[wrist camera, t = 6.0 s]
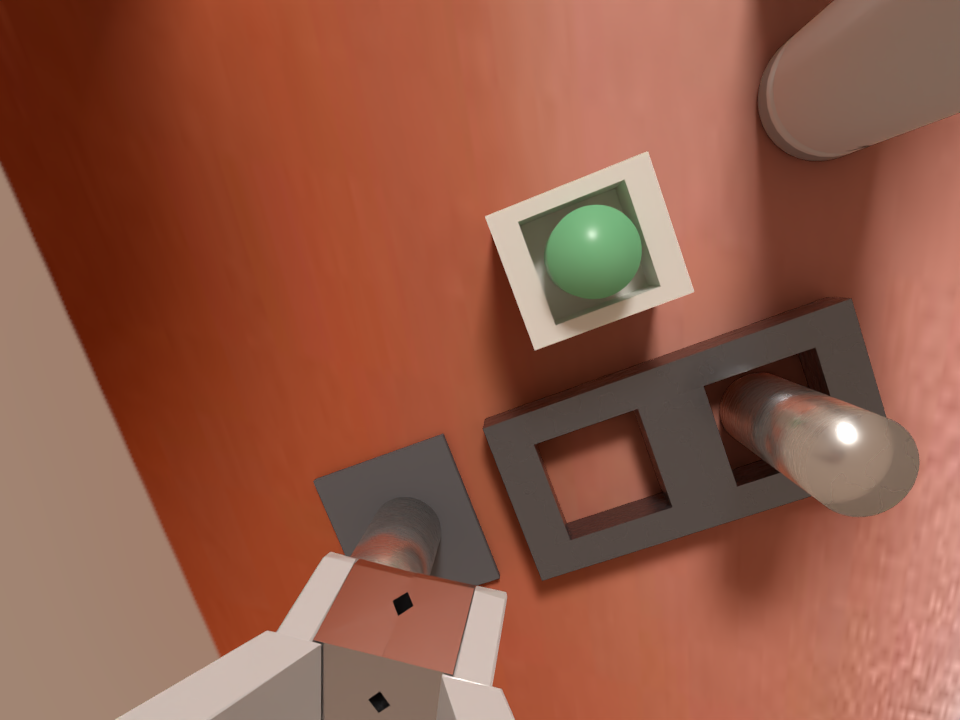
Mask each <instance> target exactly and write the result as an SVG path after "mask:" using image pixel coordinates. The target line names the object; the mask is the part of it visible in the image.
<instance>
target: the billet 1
mask: <svg viewBox="0 0 960 720" xmlns="http://www.w3.org/2000/svg"><path fill="white" fill-rule="evenodd" d="M440 538H441V524H440V521H439V518H438V516H437V515H436V513H435V511H434V510H433V509H432V508H431V507H430V506H429V505H427V504H426V503H425V502H423V501H421V500H419V499H416V498H412V497H398V498H394V499H392V500H389V501H388V502H386V503H385V504H383V505H382V506H381V507H380V508H379V510H378V511H377V513H376V514H375V516H374V518H373V519H372V521H371V523H370V524H369V526H368V528H367V529H366V531H365V533H364V534H363V536H362V538H361V539H360V541H359V543H358V545H357V546H356V548H355V550H354V551H353V553H352V555H351V556H350V557H353V558H357V559H363V560H367V561H371V562H375V563H379V564H383V565H386V566H390V567H394V568H398V569H402V570H406V571H410V572H414V573H421V574H426V575H430V573H431V570H432V566H433V563H434V559H435V556H436V553H437V549H438V546H439V542H440Z"/></svg>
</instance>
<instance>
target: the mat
mask: <svg viewBox="0 0 960 720" xmlns="http://www.w3.org/2000/svg"><path fill="white" fill-rule="evenodd" d="M313 482H314V484H315V487H316V489H317V491H318V493H319V496H320V498H321V500H322V503H323V505H324V507H325V510H326V512H327V514H328V516H329V519H330V521H331V523H332V526H333V528H334V530H335V532H336V535H337V537H338V539H339V542H340V544H341V546H342V549H343V551H344V553H345V555H346V556H349V557H350V556H351V555H352V553H353V551H354V550H355V548H356V546H357V545H358V543H359V541H360V539H361V538H362V536H363V534H364V533H365V531H366V529H367V528H368V526H369V524H370V523H371V521H372V519H373V518H374V516H375V514H376V513H377V511H378V510H379V508H380V507H381V506H382V505H383V504H385V503H386V502H388V501H389V500H392V499H394V498H398V497H412V498H416V499H419V500H421V501H423V502H425V503H426V504H427V505H429V506H430V507H431V508H432V509H433V510H434V511H435V513H436V515H437V516H438V518H439V521H440V524H441V538H440V542H439V546H438V549H437V553H436V556H435V559H434V563H433V566H432V570H431V573H430V576H435V577H439V578H444V579H449V580H453V581H458V582H462V583H467V584H472V585H476V586H477V585H480V584H483V583H487V582H490V581H493V580H496V579H499V578H500V574H499V571H498V569H497V566H496V564H495V561H494V559H493V556H492V554H491V551H490V549H489V546H488V544H487V541H486V539H485V536H484V534H483V531H482V529H481V526H480V524H479V521H478V519H477V516H476V514H475V511H474V509H473V506H472V504H471V501H470V499H469V496H468V494H467V491H466V489H465V486H464V484H463V481H462V479H461V476H460V474H459V471H458V469H457V466H456V464H455V461H454V459H453V456H452V454H451V451H450V449H449V446H448V444H447V441H446V439H445V436H444V434H441V435H438V436H435V437H433V438H430V439H427V440H424V441H421V442H418V443H416V444H413V445H410V446H407V447H404V448H402V449H399V450H396V451H393V452H390V453H388V454H385V455H382V456H379V457H376V458H373V459H371V460H368V461H365V462H362V463H359V464H357V465H354V466H351V467H348V468H345V469H342V470H340V471H337V472H334V473H331V474H328V475H326V476H323V477H320V478H317V479H315V480H314V481H313Z"/></svg>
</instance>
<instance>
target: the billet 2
mask: <svg viewBox="0 0 960 720" xmlns="http://www.w3.org/2000/svg"><path fill="white" fill-rule="evenodd" d="M720 418H721V422H722V424H723V426H724V428H725V430H726V431H727V432H728V433H729V434H730V435H731V436H732V437H733V438H734V439H736V440H737V441H738V442H740V443H741V444H743V445H744V446H745V447H747V448H748V449H749V450H751V451H752V452H753V453H755V454H756V455H757V456H759V457H760V458H761V459H763V460H764V461H765V462H767V463H768V464H769V465H771V466H772V467H774V468H775V469H776V470H778V471H779V472H780V473H782V474H783V475H784V476H786V477H787V478H788V479H790V480H791V481H792V482H794V483H795V484H796V485H798V486H799V487H800V488H802V489H803V490H805V491H806V492H807V493H809V494H810V495H811V496H813V497H814V498H815V499H817V500H818V501H819V502H821V503H822V504H823V505H825V506H826V507H828V508H829V509H831V510H833V511H834V512H837V513H839V514H842V515H846V516H852V517H866V516H872V515H876V514H879V513H882V512H885V511H887V510H889V509H890V508H892V507H894V506H895V505H897V504H898V503H899V502H900V501H901V500H903V498H904V497H905V496H906V495H907V494H908V493H909V491H910V490H911V488H912V487H913V485H914V483H915V480H916V478H917V475H918V470H919V454H918V449H917V446H916V444H915V442H914V440H913V438H912V436H911V435H910V434H909V432H908V431H907V430H906V429H905V428H904V427H902V426H901V425H900V424H898V423H897V422H895V421H893V420H891V419H889V418H886V417H883V416H881V415H878V414H875V413H873V412H870V411H868V410H865V409H862V408H860V407H857V406H854V405H852V404H849V403H847V402H844V401H841V400H839V399H836V398H833V397H831V396H828V395H826V394H823V393H820V392H818V391H815V390H812V389H810V388H807V387H805V386H802V385H799V384H797V383H794V382H791V381H789V380H786V379H784V378H781V377H778V376H776V375H773V374H770V373H763V372H756V373H751V374H747V375H744V376H742V377H740V378H739V379H737V380H736V381H734V382H733V383H732V384H731V385H730V386H729V387H728V388H727V390H726V391H725V393H724V395H723V397H722V399H721V403H720Z"/></svg>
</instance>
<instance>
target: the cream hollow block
mask: <svg viewBox="0 0 960 720" xmlns="http://www.w3.org/2000/svg"><path fill="white" fill-rule="evenodd" d="M588 205H605V206H609V207H612V208H615V209H617V210H619V211H621V212H622V213H623V214H625V215H626V216H627V217H628V218H629V219H630V220H631V221H632V223H633V224H634V225H635V227H636V229H637V231H638V233H639V236H640V240H641V245H642V255H641V261H640V265H639V268H638V270H637V272H636V274H635V276H634V277H633V279H632V280H631V281H630V283H629V284H628V285H627V286H626V287H625V288H623V289H622V290H621V291H619V292H617V293H616V294H614V295H611V296H609V297H606V298H601V299H585V298H581V297H577V296H574V295H571V294H569V293H566V292H565V291H563V290H561V289H560V288H559V287H557V286H556V285H555V284H554V282H553V281H552V280H551V278H550V277H549V275H548V273H547V270H546V267H545V262H544V250H545V245H546V242H547V240H548V238H549V236H550V234H551V232H552V231H553V230H554V228H555V227H556V226H557V224H558V223H559V222H560V221H561V220H562V219H563V218H564V217H565V216H566V215H567V214H569V213H570V212H572V211H574V210H576V209H578V208H580V207H584V206H588ZM485 218H486V221H487V223H488V226H489V229H490V231H491V234H492V237H493V239H494V242H495V245H496V247H497V250H498V253H499V256H500V258H501V261H502V264H503V266H504V269H505V272H506V274H507V277H508V280H509V283H510V285H511V288H512V291H513V293H514V296H515V299H516V301H517V304H518V307H519V309H520V312H521V315H522V318H523V320H524V323H525V326H526V328H527V331H528V334H529V336H530V339H531V342H532V344H533V347H534V350H538V349H540V348H543V347H546V346H548V345H551V344H554V343H557V342H559V341H562V340H565V339H568V338H570V337H573V336H576V335H578V334H581V333H584V332H587V331H589V330H592V329H595V328H598V327H600V326H603V325H606V324H608V323H611V322H614V321H617V320H619V319H622V318H625V317H628V316H630V315H633V314H636V313H638V312H641V311H644V310H647V309H649V308H652V307H655V306H658V305H660V304H663V303H666V302H668V301H671V300H674V299H677V298H679V297H682V296H685V295H688V294H690V293H693V292H694V290H693V287H692V283H691V280H690V277H689V274H688V271H687V268H686V265H685V262H684V259H683V256H682V253H681V250H680V247H679V244H678V241H677V238H676V235H675V232H674V229H673V226H672V223H671V220H670V217H669V214H668V211H667V208H666V205H665V202H664V199H663V195H662V192H661V189H660V186H659V183H658V180H657V177H656V174H655V171H654V168H653V165H652V162H651V159H650V156H649V153H648V151H647V152H644V153H642V154H639V155H637V156H634V157H632V158H629V159H627V160H624V161H622V162H620V163H617V164H615V165H612V166H610V167H607V168H605V169H602V170H600V171H597V172H595V173H592V174H590V175H587V176H585V177H582V178H580V179H577V180H575V181H572V182H570V183H567V184H565V185H562V186H560V187H557V188H555V189H552V190H550V191H547V192H545V193H542V194H540V195H537V196H535V197H532V198H530V199H527V200H525V201H522V202H520V203H517V204H515V205H512V206H510V207H507V208H505V209H502V210H500V211H497V212H495V213H492V214H490V215H487V216H485Z"/></svg>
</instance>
